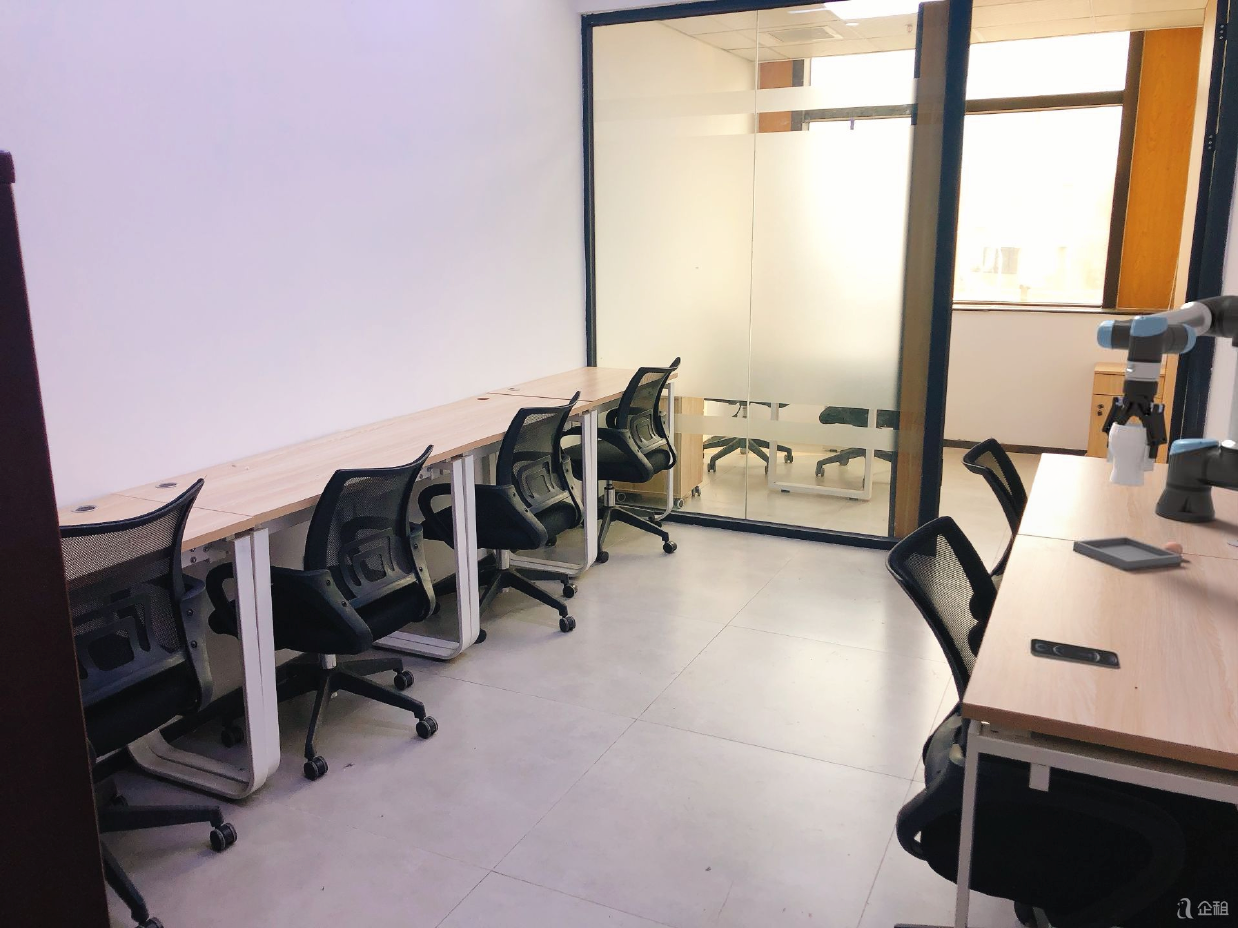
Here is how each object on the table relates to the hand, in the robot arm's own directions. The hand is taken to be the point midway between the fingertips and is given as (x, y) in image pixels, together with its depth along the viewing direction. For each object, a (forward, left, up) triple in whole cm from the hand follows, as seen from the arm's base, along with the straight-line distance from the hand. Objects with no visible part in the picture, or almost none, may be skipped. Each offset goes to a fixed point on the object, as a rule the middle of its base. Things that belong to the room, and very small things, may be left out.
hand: (1129, 466), depth 233 cm
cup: (0, 0, -5) cm, 5 cm away
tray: (+1, +4, -23) cm, 23 cm away
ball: (-11, +7, -23) cm, 26 cm away
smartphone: (+60, +48, -23) cm, 80 cm away
